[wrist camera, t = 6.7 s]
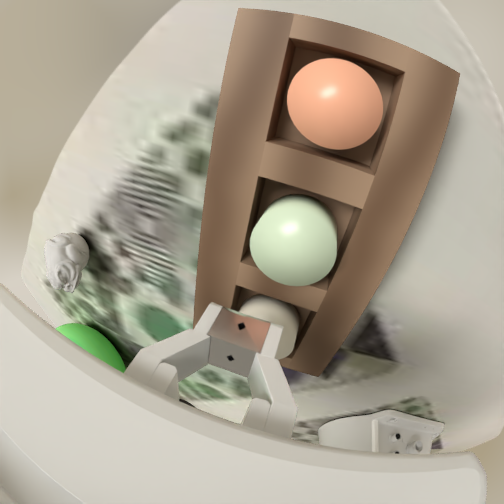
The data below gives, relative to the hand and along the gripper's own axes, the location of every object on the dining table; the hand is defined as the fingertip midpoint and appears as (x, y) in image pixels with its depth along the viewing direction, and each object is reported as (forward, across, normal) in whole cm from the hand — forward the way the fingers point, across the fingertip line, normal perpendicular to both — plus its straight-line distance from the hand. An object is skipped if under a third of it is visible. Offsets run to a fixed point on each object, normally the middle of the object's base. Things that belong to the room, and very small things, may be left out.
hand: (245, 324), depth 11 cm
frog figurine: (+12, +23, +11) cm, 28 cm away
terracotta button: (+9, -1, -9) cm, 13 cm away
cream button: (+8, -1, +7) cm, 11 cm away
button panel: (+12, -1, -1) cm, 12 cm away
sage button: (+8, -1, -1) cm, 8 cm away
